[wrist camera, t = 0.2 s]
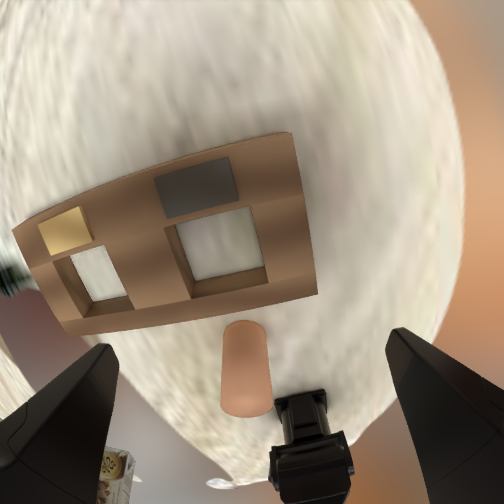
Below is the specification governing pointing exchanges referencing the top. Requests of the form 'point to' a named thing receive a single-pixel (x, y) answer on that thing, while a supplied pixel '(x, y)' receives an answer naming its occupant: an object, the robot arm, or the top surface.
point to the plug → (245, 371)
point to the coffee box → (115, 477)
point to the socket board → (175, 239)
